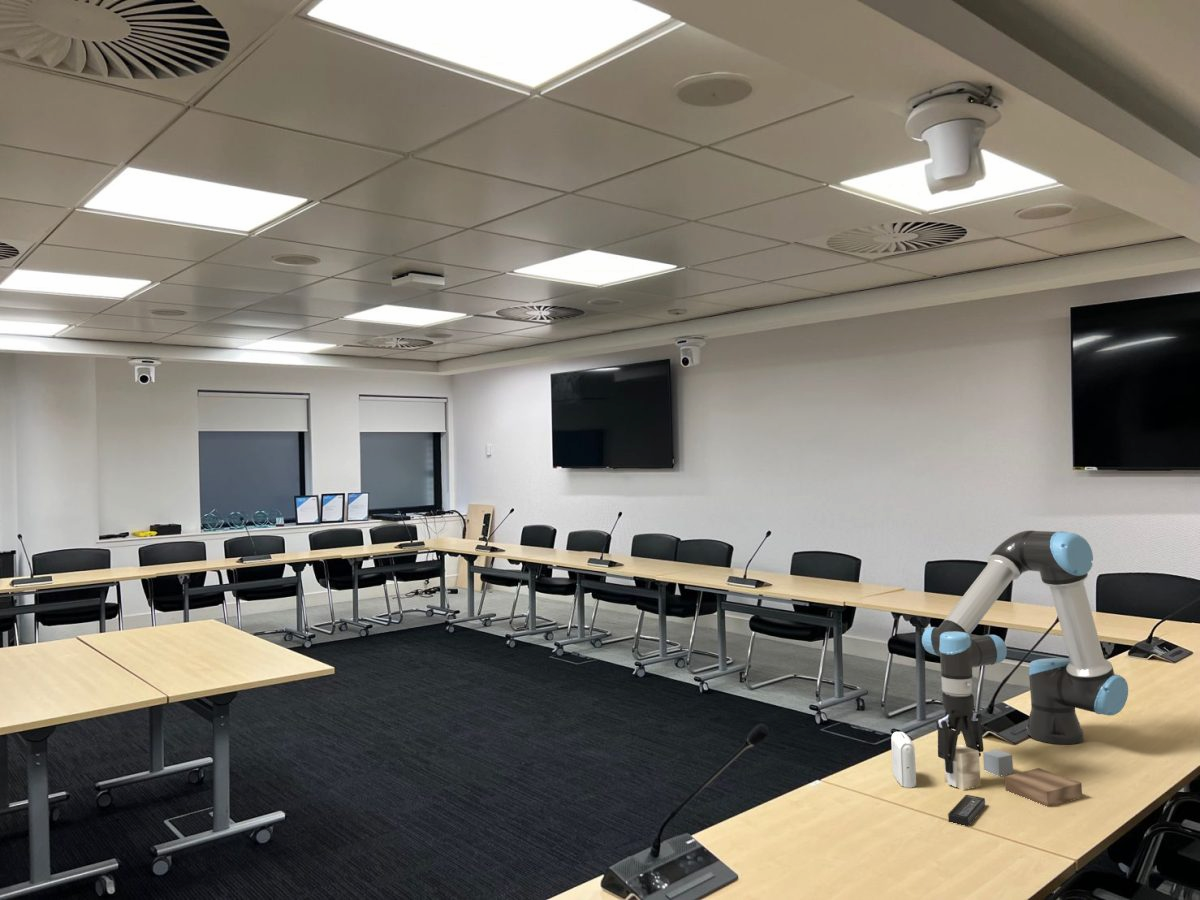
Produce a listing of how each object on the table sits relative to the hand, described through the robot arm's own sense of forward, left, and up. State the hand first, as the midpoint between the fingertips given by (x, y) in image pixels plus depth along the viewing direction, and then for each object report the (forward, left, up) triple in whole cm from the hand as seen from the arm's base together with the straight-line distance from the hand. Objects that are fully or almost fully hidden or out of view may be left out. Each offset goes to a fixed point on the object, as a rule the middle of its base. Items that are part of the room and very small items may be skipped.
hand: (962, 782), depth 214 cm
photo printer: (+11, -9, -1) cm, 14 cm away
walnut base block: (-12, +14, -1) cm, 18 cm away
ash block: (0, 0, 0) cm, 0 cm away
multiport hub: (+13, +14, -1) cm, 20 cm away
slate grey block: (-15, -2, -1) cm, 15 cm away
